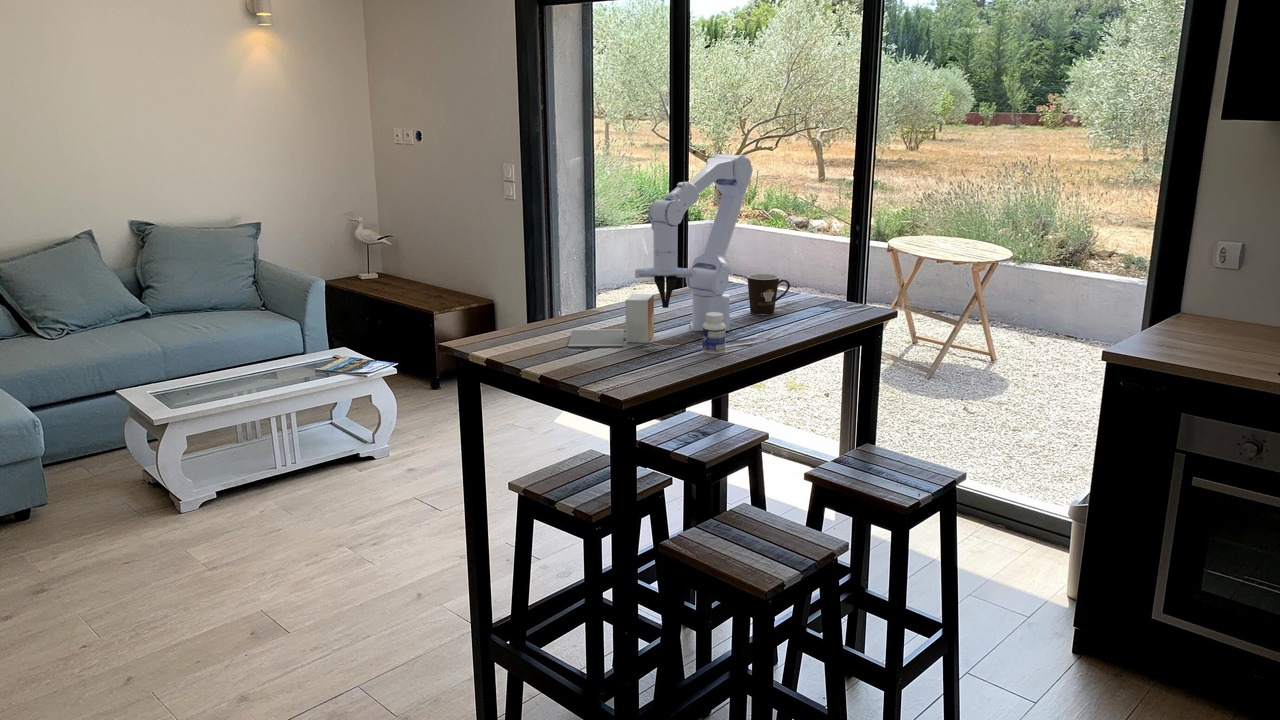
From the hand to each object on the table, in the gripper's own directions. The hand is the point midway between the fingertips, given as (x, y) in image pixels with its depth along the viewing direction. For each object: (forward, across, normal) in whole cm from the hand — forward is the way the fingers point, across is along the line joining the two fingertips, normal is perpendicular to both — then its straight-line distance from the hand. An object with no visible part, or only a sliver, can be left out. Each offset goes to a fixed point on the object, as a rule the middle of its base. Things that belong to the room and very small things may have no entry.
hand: (665, 307), depth 223 cm
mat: (+8, -17, 0) cm, 18 cm away
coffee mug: (+8, +29, +28) cm, 41 cm away
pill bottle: (+8, +11, -12) cm, 18 cm away
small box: (+8, -6, 0) cm, 10 cm away
